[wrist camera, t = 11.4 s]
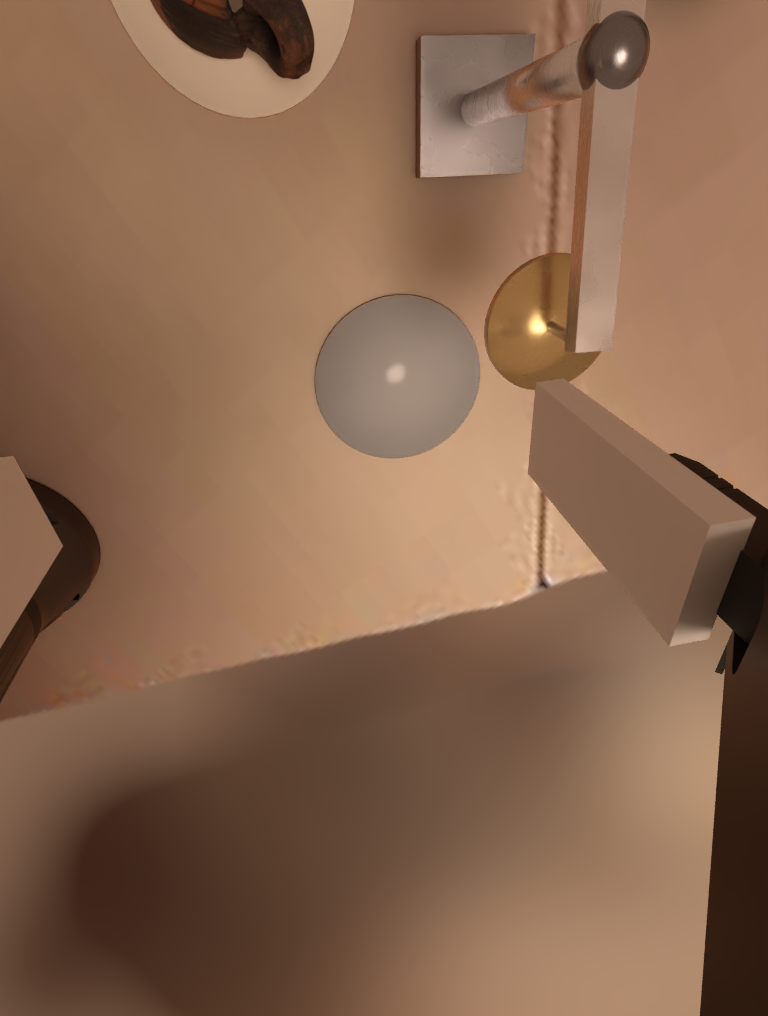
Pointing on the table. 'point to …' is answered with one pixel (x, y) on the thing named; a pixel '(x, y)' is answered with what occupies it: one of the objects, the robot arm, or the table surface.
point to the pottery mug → (245, 30)
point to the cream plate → (235, 61)
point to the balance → (499, 150)
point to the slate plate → (397, 376)
